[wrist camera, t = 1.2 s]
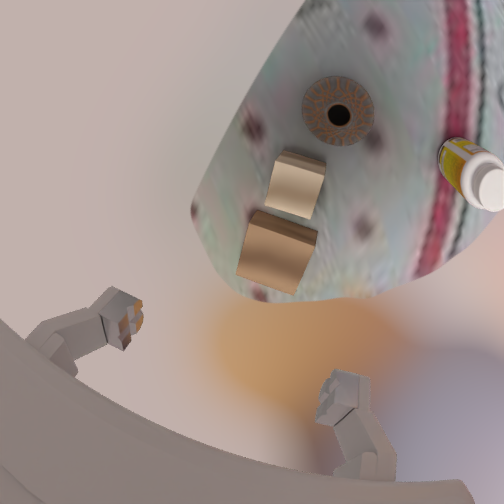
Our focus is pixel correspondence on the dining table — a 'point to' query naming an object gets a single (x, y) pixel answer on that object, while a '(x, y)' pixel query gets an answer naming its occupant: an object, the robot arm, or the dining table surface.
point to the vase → (338, 111)
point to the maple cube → (295, 184)
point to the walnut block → (276, 252)
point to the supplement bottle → (473, 173)
